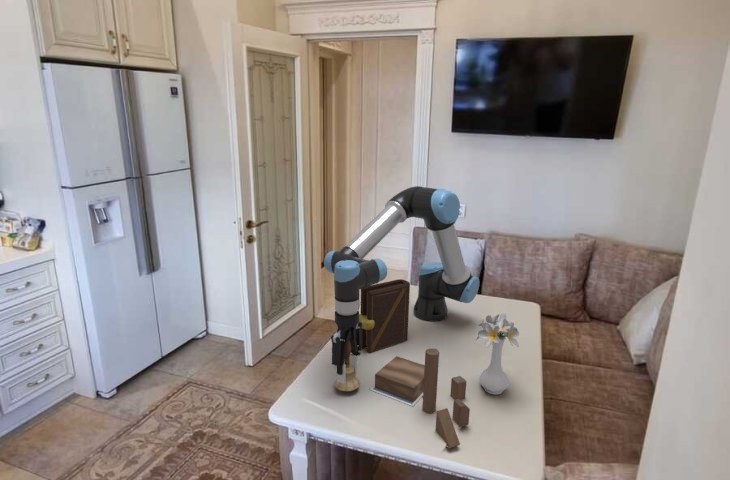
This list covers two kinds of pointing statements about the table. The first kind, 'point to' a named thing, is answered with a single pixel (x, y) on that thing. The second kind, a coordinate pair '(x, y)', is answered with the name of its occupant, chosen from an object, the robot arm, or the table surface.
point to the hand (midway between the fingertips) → (347, 377)
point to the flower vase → (496, 351)
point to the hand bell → (348, 374)
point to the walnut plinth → (401, 378)
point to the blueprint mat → (396, 396)
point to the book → (384, 314)
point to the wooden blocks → (457, 393)
